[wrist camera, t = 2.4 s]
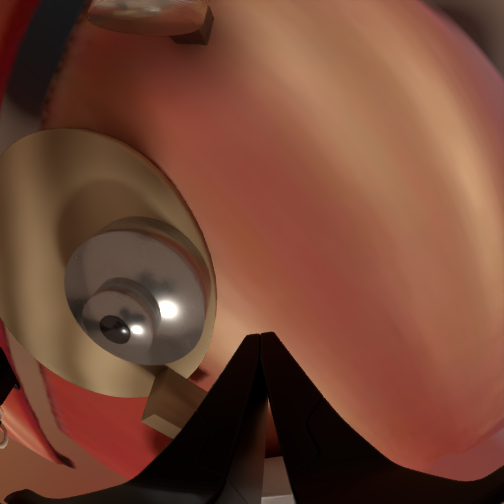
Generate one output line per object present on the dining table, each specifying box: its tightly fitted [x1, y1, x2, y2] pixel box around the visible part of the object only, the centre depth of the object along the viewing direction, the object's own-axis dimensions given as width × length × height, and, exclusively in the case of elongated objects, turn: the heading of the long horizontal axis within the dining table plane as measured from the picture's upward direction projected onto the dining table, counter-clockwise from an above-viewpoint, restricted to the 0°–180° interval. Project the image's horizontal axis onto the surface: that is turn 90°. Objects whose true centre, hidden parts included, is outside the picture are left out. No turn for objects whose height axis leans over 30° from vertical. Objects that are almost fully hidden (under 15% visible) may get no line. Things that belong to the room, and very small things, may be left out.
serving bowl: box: [261, 456, 294, 504], centre depth 23 cm, size 21×21×7 cm
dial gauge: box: [87, 0, 214, 45], centre depth 7 cm, size 4×3×8 cm
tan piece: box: [0, 128, 217, 439], centre depth 13 cm, size 21×19×5 cm
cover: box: [64, 216, 211, 365], centre depth 12 cm, size 7×7×4 cm
